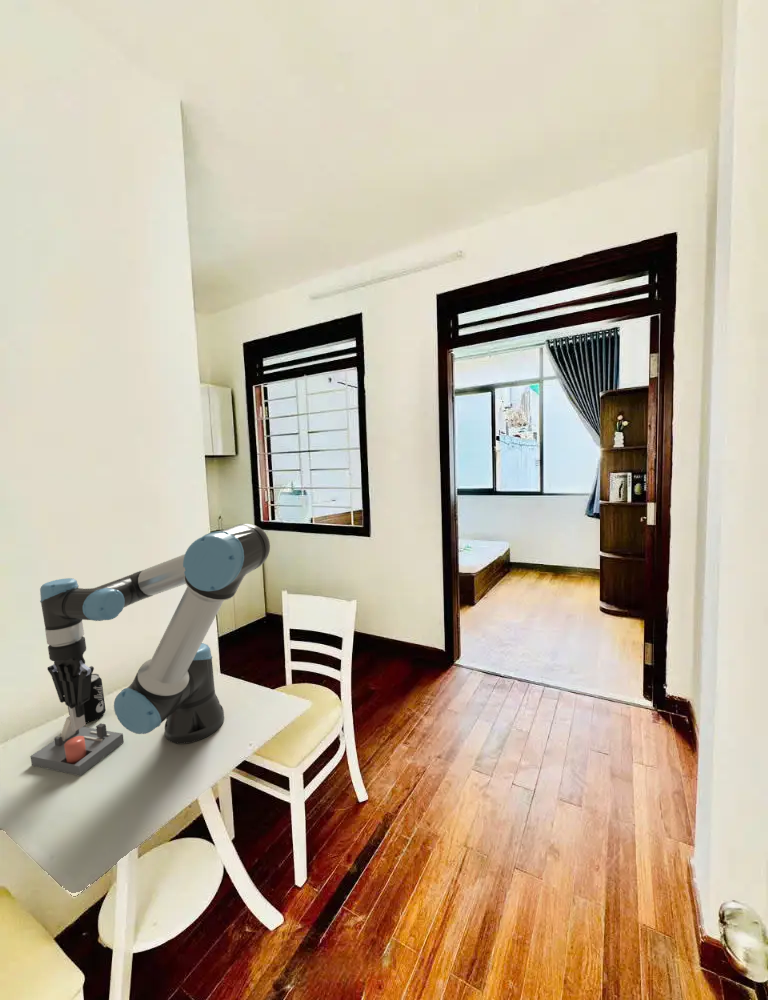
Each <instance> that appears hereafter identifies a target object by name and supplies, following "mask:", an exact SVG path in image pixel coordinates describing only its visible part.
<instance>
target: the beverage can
mask: <svg viewBox="0 0 768 1000" xmlns="http://www.w3.org/2000/svg"><path fill="white" fill-rule="evenodd" d="M102 679H103V678H101V677H100V674H99V673H92V676H91V691H90V699H89V700H88V701H86V702H84V711H85V714H84V716H85V723H86V724H87V723H92V722H95V721H97V720H99V719H102V717H103V716H104V714H105V713H106V702H105V695H104V689H103V687H104V686H103V680H102Z"/></svg>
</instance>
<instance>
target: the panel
mask: <svg viewBox="0 0 768 1000" xmlns="http://www.w3.org/2000/svg"><path fill="white" fill-rule="evenodd" d="M106 731H107V735H106V736H105V737H103V738H101V737H97V729H96V728H94V727H88V726H83V727H81V728H80V729H78V730H77V731H76V732H75V734H74V735H72V736H71V737H69V738H68V739H66V740H65V741H63V742H62V737H60V736H58V735H57V736H55V737H54V738H53V741H51V742H50V743H48V744H47V745H45V746H44V747H42V748H41V749H39V750H37V751H36V752H34V753H33V754H31V755H29V757H30V761H31V766H33V767H37V768H43V769H47V770H52V771H55V772H59V773H64V774H65V773H66V774H69V775H74V776H78V777H81V776H82V775H83V774H85V773H86V772H87V771H89V770H90V769H92V767H93V766H95V765H96V764H97V763H99V762H101V760H103V759H104V758H106V757H107V756H108V755H110V754H111V753H112V752H113V751H114V750H116V749H117V748H118V747H120V746H121V745H122V744H124V741H125V739H124V734H123V733H121V732H116V731H110V730H106ZM77 736H84V739H85V746H86V754H87V756H85V757H84V758H83V759H81V760H80V761H79V762H77V763H76V764H69V763H67V761H66V754H65V747H64V744H65V743H66V742H67V741H68V740H69V739H71V738H74V737H77Z"/></svg>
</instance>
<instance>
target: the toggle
mask: <svg viewBox="0 0 768 1000" xmlns="http://www.w3.org/2000/svg"><path fill="white" fill-rule="evenodd" d="M75 732H76V731H72V726H71V720H70V715H69V716H68V717H66V718H65V722H64V725H63V728H62V730H61V733H60V736H59V737H62V742H63V741H65V740H66V739H68V738H69V737H71V736H72V735H74V734H75Z"/></svg>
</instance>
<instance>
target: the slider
mask: <svg viewBox="0 0 768 1000" xmlns="http://www.w3.org/2000/svg"><path fill="white" fill-rule="evenodd" d="M95 727H96V728H95V729H97V737H101V738H103V737H105V736H106V735H107V731H108V730H107V726H106V724H105V723H99V724H97V725H96V726H95Z"/></svg>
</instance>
